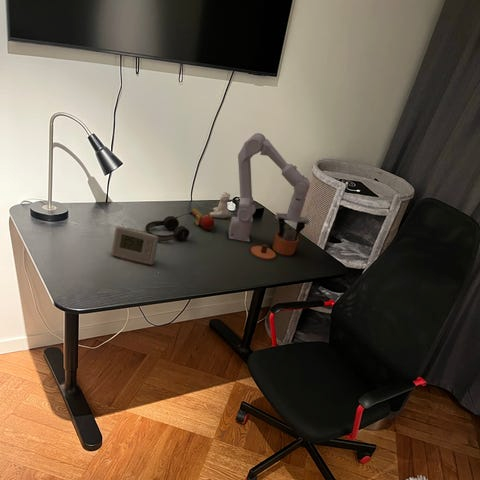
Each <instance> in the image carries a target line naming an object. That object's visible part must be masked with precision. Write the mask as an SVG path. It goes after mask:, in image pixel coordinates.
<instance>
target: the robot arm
mask: <svg viewBox="0 0 480 480" xmlns="http://www.w3.org/2000/svg"><path fill="white" fill-rule="evenodd" d="M257 154H259V155H260V156H267V157H268V158H269V159H270V160H271V161H272V162H273V163H274V164H275V165H276V166H277V167H278V168H279V169H280V171H281V175H282V177H283V178H284V179H285V180H286V181H287V182H288V183H289V184H290V185H291V187H293V194H291V195H292V196H291V198H290V202H289V205H288V208H287V212H286V213H280V212H276V213H275V217H274V218H275V219H276V220H278V226H279V227H278V229H279V230H278V232H279V236H281V235H282V231H283V228H284V226H286V221H288V222H292V223H296V227H295V230H296V231H297V233H296V237H298V235H299V234H300V233H301V232H302V230H304V229H305V228H306V227H305V226H306V225H307V226H309V224H310V219H309V218H306V217H303V216H302V212H303V209H304V207H305V206H304V205H305V202H306V199H307V195H308V193H309V191H310V190H309V189H310V187H311V183H310V180H309V178H308V177H306V176H305V175H304V174H303V175H302V174H301V172H300V171H299V170H298V169H297V168H298V167H297V166H296V165H294V164H292V163H288V162H287V161H286V160H285V159H284V157H283V155H281V154H280V153H279V151H278V150H277V149H276V147H274V145H273V144H272V142H271V141H270V140H269V139H268V138H266V136H265V135H264V134H262V133H260V132H257V133H254V134H253V135H252V136H251V137H249V138H248V139H247V140H246V141H245V142H244V143H243V145H242V147H241V149H240V151H239V153H238V155H237V162H238V180H239V182H238V183H239V203H238V210H237V215H236V216H231V218H230V223H229V227H228V231H227V232H228V238H229V239H232V240H239V241H242V242H243V241H244V242H251V239H250V234H251V230H252V226H253V222H254V218H253V215H254V214H256V210H257V207H256V203H255V202H254V201H255V200H254V197H253V188H252V187H253V186H252V167H251V166H252V163H251V161H252V160H251V159H252V158H253V156H255V155H257ZM296 237H295V239H296Z"/></svg>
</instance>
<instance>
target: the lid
mask: <svg viewBox="0 0 480 480" xmlns="http://www.w3.org/2000/svg"><path fill="white" fill-rule="evenodd" d="M250 252H251V254H252V255H254V256H255V257H256V258H259V259H263V260H273V259H275V258H276V256H277V255H276V251H275V250H274V249H271V248H269V245H268V244H266V243H263V244H262V245H254V246H252V247H251V248H250Z"/></svg>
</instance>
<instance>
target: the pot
mask: <svg viewBox="0 0 480 480" xmlns="http://www.w3.org/2000/svg"><path fill="white" fill-rule="evenodd" d="M298 242H299V237H298V236H297V237H296V239H295V240H294V241H286V240H283V239H281V238H280V237H279V231H276V233H275V235H274V239H273V243H272V246H271V248H272V250H273V251H274V252H275V253H278V254H281V255H284V256H293V255H294V254H295V251H296V249H297V246H298Z"/></svg>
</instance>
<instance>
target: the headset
mask: <svg viewBox="0 0 480 480" xmlns="http://www.w3.org/2000/svg"><path fill="white" fill-rule="evenodd" d="M186 215H193V212H192V211H190V212H189V213H184V214H182V215H180V216H173V215H169V216H166V217H165V218H164V219H163V220H155V221H151V222H149V223H147V224H146V225H145V228H144V232H146V233H148V234H152V235H156V236H158V242H167V241H172V240H175V239H176V240H177V241H181V242H182V241H185V240H186V239H188V238H189V236H190V230H189V229H188V228H186V227H185V226H184V225H179V224H180V222H179V220H178V218H180V217H182V216H186ZM162 226H163V227H164V228H165V229H166V230H168V231H173V230H174V231H173V233H171V234H168V235H167V234H166V235H164V234H163V235H161V234H157V233H153V232H152V231H150V229H152V228H155V227H162Z"/></svg>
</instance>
